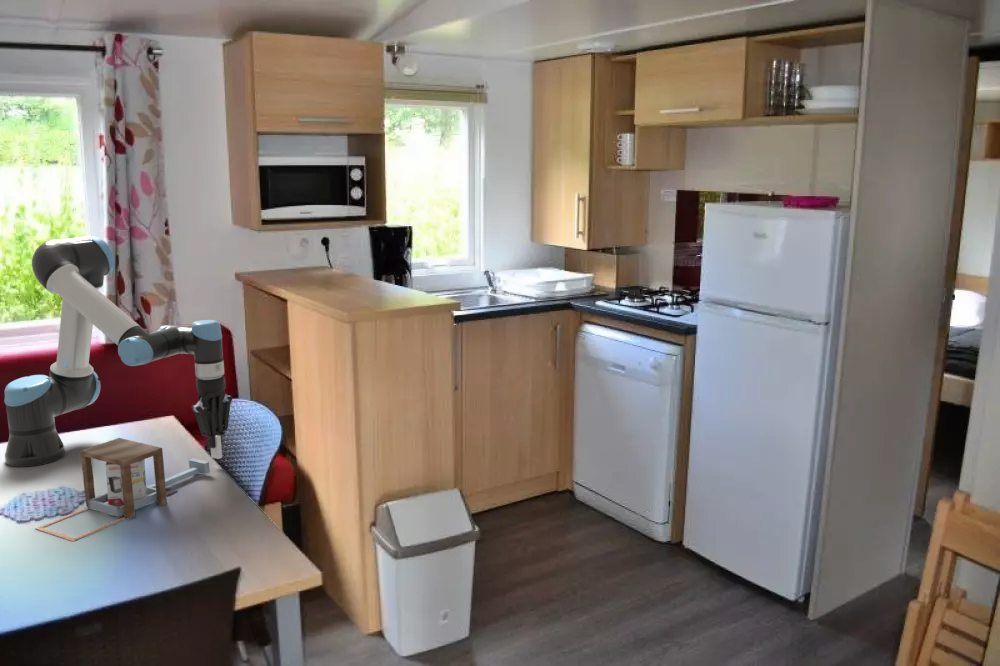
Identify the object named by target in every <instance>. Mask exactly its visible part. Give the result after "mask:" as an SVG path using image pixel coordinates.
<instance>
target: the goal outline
mask: <svg viewBox="0 0 1000 666" xmlns="http://www.w3.org/2000/svg"><path fill="white" fill-rule="evenodd" d="M89 510H92V509H91V508H88V507H84V508H82V509H80V510H78V511H75V512H72V513H70V514H68V515H64V516H63V517H60V518H57V519H55V520H53V521H50V522H47V523H46V524H43V525H40V526H38V527H36V528H35V530H37V531H40V532H43V533H45V534H49V535H52V536H54V537H58V538H61V539H63V540H67V541H70V542H75V541H78V540H81V539H82V537H83V538H85V537H87V536H89V535H91V534H95V533H96V532H99V531H101V530H103V529H105V528H107V527H110V526H112V525H115V524H116V523H119V522H122V521H124V520H125V519H126V518H125V516H124V517H123V516H122V517H120V518H118V519H116V520H113V521H112V522H109V523H107V524H104V525H102V526H100V527H97V528H95V529H92V530H90V531H89V532H88V531H87V532H85V533H84V534H81V535H79V536H77V537H74V536H73V537H72V536H69V535H66V534H64V533H60V532H58V531H54V530H51V529H48V528H46V527H49V526H52V525H53V524H56V523H58V522H61V521H63V520H65V519H68V518H71V517H74V516H75V515H78V514H81V513H84V512H85V511H89Z"/></svg>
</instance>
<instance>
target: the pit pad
mask: <svg viewBox="0 0 1000 666" xmlns="http://www.w3.org/2000/svg"><path fill="white" fill-rule="evenodd" d="M176 493H178V490H176V489H171V488H167V487H166V498H167V497H169V496H171V495H174V494H176Z"/></svg>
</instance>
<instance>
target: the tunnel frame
mask: <svg viewBox="0 0 1000 666" xmlns="http://www.w3.org/2000/svg"><path fill="white" fill-rule="evenodd" d="M151 457H152V459H153V460H152V461H153V469H154V480H155V481H154V483H155V484H156V495H157V501H156V504H157V505H159V506H163V505H166V504H168V500H167V497H166V488H167V486H165V479H166V477H165V476H166V475H165V466H164V465H165V464H164V452H163V447H160V446H155V445H152V444H151V445H150V444H147V443H143V442H138V441H134V440H130V439H124V438H122V437H121V438H120V437H118V438H115V439H111V440H109V441H106V442H102V443H99V444H97V445H94V446H90V447H88V448H85V449H82V450H80V460H81V469H82V471H81V472H82V478H83V479H82V480H83V489H84V497H85V499H84V500H85V506H86V507H85V508H87V507H88V500H89V499H92V498H95V497H96V491H95V481H94V471H93V462H92V461H93V460H97V461H100V462H101V461H102V462H105V463H106V462H108V463H112V464H116V465H120V471H121V481H122V492H123V502H124V512H125V514H124V518H125V519H127V520H131V519H133V518H136V512H135V511H136V510H134V499H133V488H132V478H131V467H130V464H133V463H136V462H138V461H141V460H144V459H145V460H146V459H148V458H149V459H150V458H151ZM92 459H93V460H92Z"/></svg>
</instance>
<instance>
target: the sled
mask: <svg viewBox="0 0 1000 666" xmlns="http://www.w3.org/2000/svg"><path fill="white" fill-rule="evenodd" d="M188 465H189V466H188V467H189V468H188V469H187V470H184V471H181V472H179V473H176V474H174V475H171V476H169V477H167V478H166V477H165V486H166V487H168V486H171V485H173V484H175V483H179V482H180V481H183V480H185V479H187V478H191V477H192V476H194V475H197V474H203V475H207V474H210V472H211V471H210V470H211V469H210V461H207V460H202V459H198V458H195V457H192V458H191V459H189V460H188ZM146 490H147V496H145V497H142V498H140V499H137V500H135V501H134V510H135V511H136V510H138V509H141V508H143V507H145V506H148V505H150V504H153V503H155V502H157V495H156V484H155V482H154V483H151V484H149V485H146ZM88 508H91V509H90V510H94V511H98V512H101V513H104V514H108V515H111V516H115V517H118V518H119V517H120V518H121V517H123V516H125V512H124V505H123V506H121V507H116V506H112V505H109V504H108V492H105V493H103V494H100V495H97V496H95V498H92V499H89V500H88Z"/></svg>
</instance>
